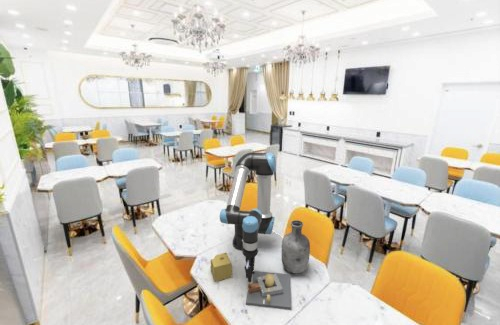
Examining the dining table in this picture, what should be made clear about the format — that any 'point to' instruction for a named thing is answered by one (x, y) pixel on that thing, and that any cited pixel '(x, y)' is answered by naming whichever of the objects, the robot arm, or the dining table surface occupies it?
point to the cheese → (221, 267)
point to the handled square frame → (265, 291)
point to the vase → (295, 249)
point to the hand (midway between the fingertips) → (250, 284)
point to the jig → (274, 300)
